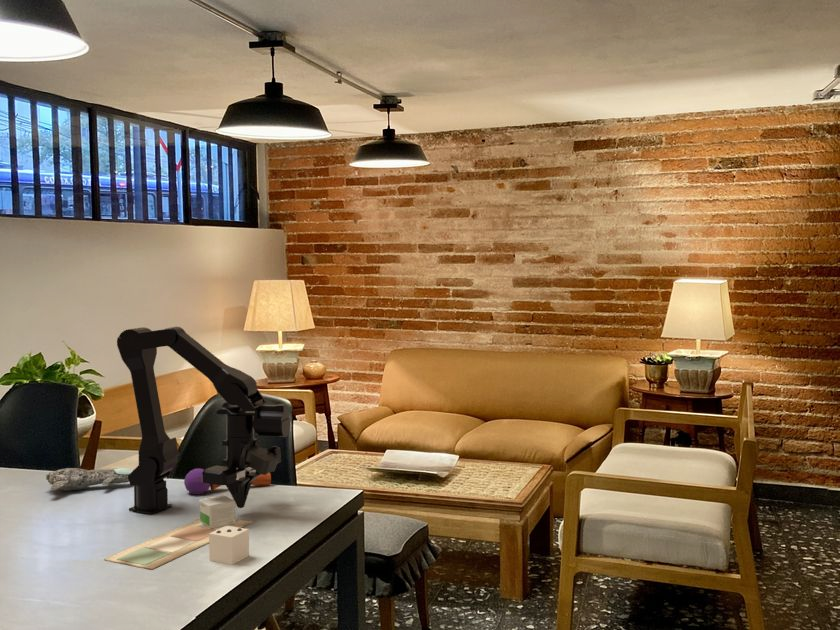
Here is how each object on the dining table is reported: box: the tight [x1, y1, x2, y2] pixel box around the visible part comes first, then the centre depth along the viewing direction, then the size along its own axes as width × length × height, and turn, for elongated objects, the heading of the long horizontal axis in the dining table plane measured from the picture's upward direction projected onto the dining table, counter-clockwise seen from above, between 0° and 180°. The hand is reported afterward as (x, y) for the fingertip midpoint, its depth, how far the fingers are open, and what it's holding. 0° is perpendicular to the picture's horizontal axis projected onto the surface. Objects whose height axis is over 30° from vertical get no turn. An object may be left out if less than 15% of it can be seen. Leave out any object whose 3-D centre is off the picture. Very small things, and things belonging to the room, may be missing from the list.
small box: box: [199, 494, 237, 529], centre depth 168 cm, size 6×6×5 cm
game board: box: [103, 518, 252, 571], centre depth 158 cm, size 11×29×1 cm, turn 156°
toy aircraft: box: [45, 467, 134, 492], centre depth 194 cm, size 16×20×5 cm
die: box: [208, 526, 250, 565], centre depth 149 cm, size 5×5×5 cm
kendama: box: [183, 468, 272, 495], centre depth 194 cm, size 6×6×20 cm
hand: (240, 507), depth 175 cm, fingers closed
